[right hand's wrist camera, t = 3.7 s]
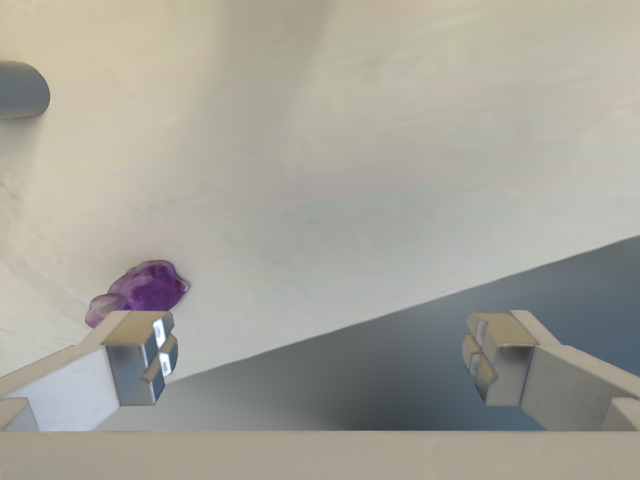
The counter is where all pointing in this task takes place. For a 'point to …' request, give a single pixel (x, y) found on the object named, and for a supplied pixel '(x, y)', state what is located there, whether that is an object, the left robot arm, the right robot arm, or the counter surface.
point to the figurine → (139, 292)
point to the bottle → (21, 90)
